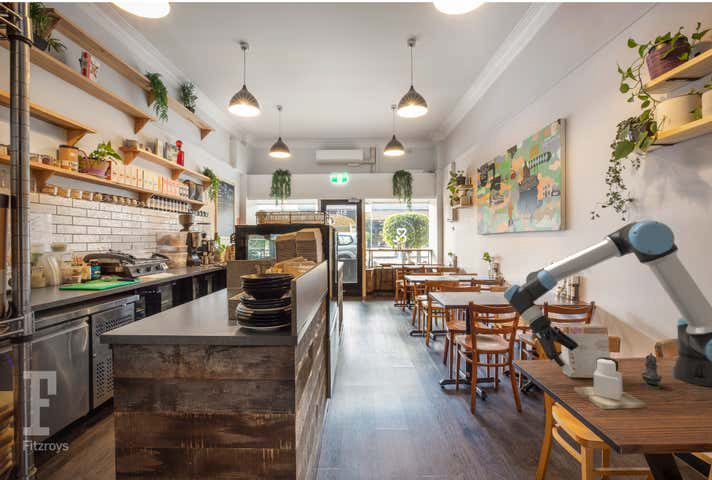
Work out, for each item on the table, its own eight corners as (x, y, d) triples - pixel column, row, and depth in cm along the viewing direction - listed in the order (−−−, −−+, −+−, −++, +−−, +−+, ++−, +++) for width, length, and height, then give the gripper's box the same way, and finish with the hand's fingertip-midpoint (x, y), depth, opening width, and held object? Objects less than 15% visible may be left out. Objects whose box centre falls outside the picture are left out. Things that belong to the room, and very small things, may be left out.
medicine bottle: (597, 388, 126) (596, 354, 126) (622, 394, 121) (621, 358, 121) (593, 395, 121) (592, 359, 121) (619, 401, 116) (618, 363, 116)
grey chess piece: (666, 389, 127) (665, 355, 127) (647, 388, 128) (646, 354, 128) (656, 383, 133) (655, 350, 133) (637, 382, 134) (637, 349, 134)
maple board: (612, 389, 128) (612, 385, 128) (645, 407, 114) (645, 403, 114) (574, 390, 127) (574, 387, 127) (602, 409, 113) (602, 405, 113)
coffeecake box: (602, 373, 142) (598, 323, 144) (612, 378, 135) (608, 326, 137) (562, 372, 145) (559, 323, 147) (570, 377, 138) (566, 325, 140)
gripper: (544, 321, 149) (585, 366, 137) (512, 330, 134) (555, 383, 122) (558, 310, 145) (601, 356, 133) (526, 319, 130) (572, 372, 118)
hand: (579, 369), depth 127 cm, fingers open, 13 cm apart
